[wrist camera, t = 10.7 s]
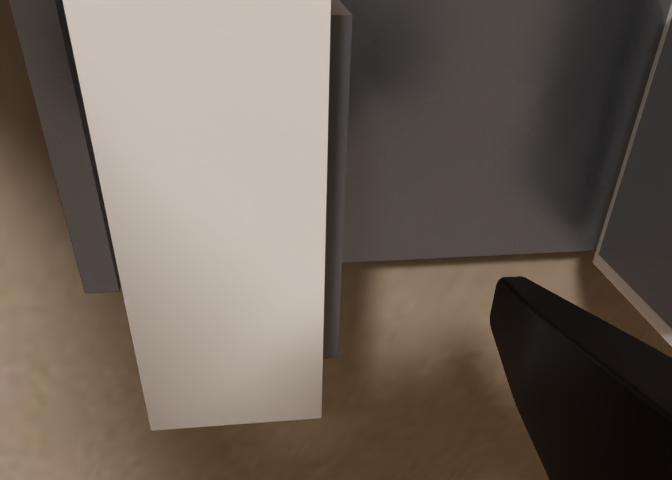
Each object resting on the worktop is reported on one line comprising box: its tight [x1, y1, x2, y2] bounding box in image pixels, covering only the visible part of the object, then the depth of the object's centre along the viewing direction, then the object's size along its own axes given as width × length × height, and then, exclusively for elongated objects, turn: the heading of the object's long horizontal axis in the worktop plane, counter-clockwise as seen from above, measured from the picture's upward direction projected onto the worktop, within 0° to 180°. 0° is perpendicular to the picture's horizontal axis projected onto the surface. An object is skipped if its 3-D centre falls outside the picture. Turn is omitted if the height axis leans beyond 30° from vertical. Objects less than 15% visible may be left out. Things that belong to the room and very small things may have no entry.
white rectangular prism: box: [63, 0, 352, 431], centre depth 13 cm, size 4×10×6 cm, turn 178°
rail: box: [9, 0, 672, 293], centre depth 17 cm, size 9×24×2 cm, turn 89°
